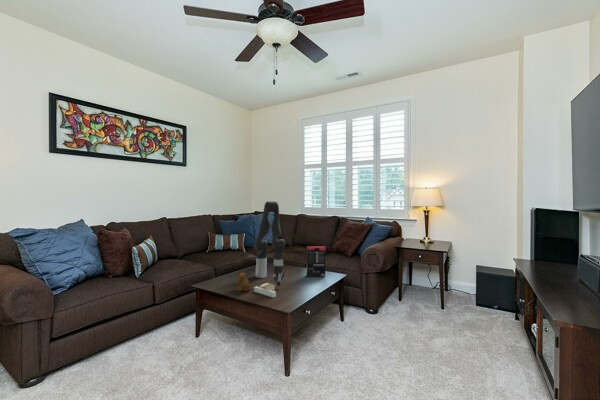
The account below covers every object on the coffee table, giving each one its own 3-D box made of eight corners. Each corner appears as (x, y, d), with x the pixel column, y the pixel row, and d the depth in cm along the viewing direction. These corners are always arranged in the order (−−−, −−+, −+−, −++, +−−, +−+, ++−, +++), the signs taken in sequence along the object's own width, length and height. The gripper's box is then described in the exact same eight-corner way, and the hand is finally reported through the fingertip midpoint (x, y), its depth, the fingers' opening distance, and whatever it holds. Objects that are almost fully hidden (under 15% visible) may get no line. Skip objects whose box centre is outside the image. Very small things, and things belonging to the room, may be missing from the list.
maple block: (259, 291, 215) (259, 285, 215) (267, 289, 221) (267, 282, 221) (267, 294, 210) (267, 287, 210) (274, 291, 216) (274, 284, 216)
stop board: (254, 291, 215) (254, 287, 215) (256, 290, 217) (256, 286, 217) (273, 297, 203) (273, 292, 203) (275, 296, 205) (275, 291, 205)
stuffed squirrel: (243, 286, 227) (243, 270, 227) (254, 290, 217) (254, 273, 217) (233, 289, 220) (233, 272, 219) (244, 293, 210) (244, 276, 210)
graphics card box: (324, 274, 260) (324, 245, 259) (325, 276, 253) (326, 246, 252) (306, 275, 258) (306, 245, 257) (307, 277, 251) (307, 247, 251)
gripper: (280, 261, 229) (280, 282, 230) (269, 265, 219) (269, 287, 219) (287, 263, 225) (287, 284, 225) (276, 266, 214) (276, 289, 215)
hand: (278, 285), depth 222 cm, fingers closed
